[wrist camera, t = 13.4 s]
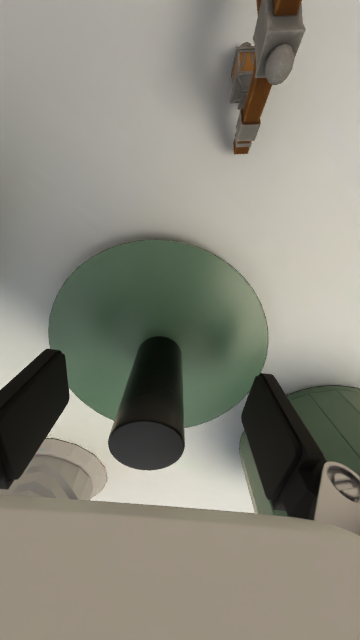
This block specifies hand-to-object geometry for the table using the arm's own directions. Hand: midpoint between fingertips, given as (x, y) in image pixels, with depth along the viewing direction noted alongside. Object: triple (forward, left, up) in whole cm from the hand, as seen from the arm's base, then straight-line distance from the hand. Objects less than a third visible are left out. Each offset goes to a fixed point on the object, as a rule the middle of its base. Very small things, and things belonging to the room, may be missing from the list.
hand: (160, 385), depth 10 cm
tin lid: (0, 0, -4) cm, 4 cm away
